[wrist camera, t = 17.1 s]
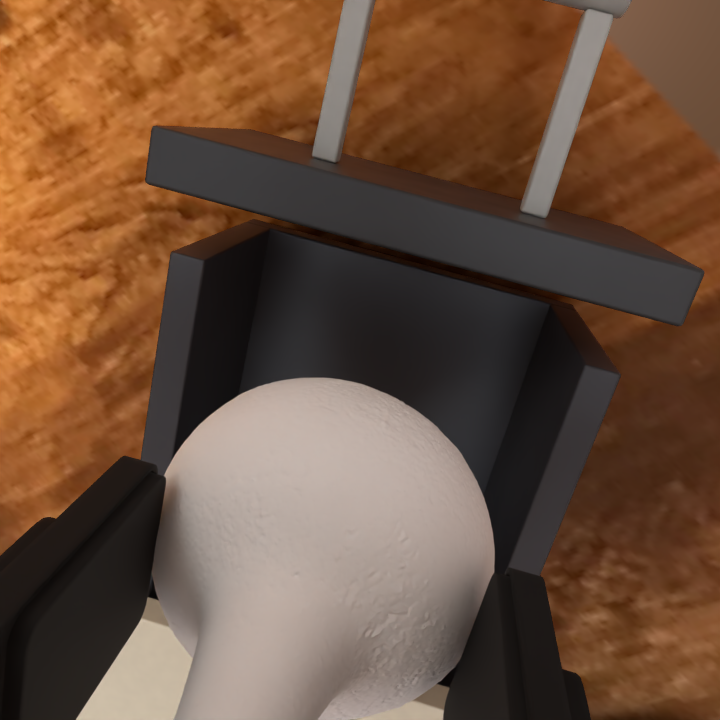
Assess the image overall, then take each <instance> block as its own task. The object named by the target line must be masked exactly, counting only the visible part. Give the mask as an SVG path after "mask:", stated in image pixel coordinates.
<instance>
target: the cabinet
mask: <svg viewBox="0 0 720 720" xmlns="http://www.w3.org/2000/svg"><path fill="white" fill-rule="evenodd" d="M192 660H193V658H192V657H191V656H190V655H189V653H188V652H187V651H186V650H185V648H184V647H183V645H181V643H180V642H179V641H178V639H177V638H176V637H175V635H174V633H173V631H172V630H171V628H170V627H169V624H168V621H167V619H166V617H165V615H164V612H163V610H162V608H161V605H160V602H159V600H156V599H153V598H149V597H148V598H147V603H146V607H145V610H144V613H143V615H142V618H141V620H140V622H139V624H138V625H137V627H136V629H135V630H134V632H133V633H132V635H131V636H130V638H129V639H128V641H127V642H126V644H125V645H124V647H123V648H122V650H121V651H120V653H119V654H118V656H117V658H116V659H115V661H114V662H113V664H112V665H111V667H110V668H109V670H108V671H107V673H106V674H105V676H104V677H103V679H102V680H101V682H100V683H99V685H98V687H97V688H96V690H95V691H94V693H93V694H92V696H91V697H90V699H89V700H88V702H87V703H86V705H85V706H84V708H83V709H82V711H81V712H80V714H79V716H78V717H77V719H76V720H174V718H175V715H176V712H177V710H178V706H179V703H180V700H181V697H182V694H183V691H184V686H185V684H186V681H187V678H188V674H189V670H190V667H191V664H192ZM448 691H449V687H446V686H442V685H439V684H436V685H434V686H433V687H432V688H431V689H429V690H427V691H426V692H425V693H423V694H422V695H420V696H419V697H417V698H416V699H414V700H412V701H410V702H408V703H406V704H404V705H403V706H402V707H399V708H395V709H391V710H389V711H385V712H381V713H378V714H374V715H371V716H366V717H363V718H357V719H350V720H443V713H444V706H445V701H446V697H447V694H448Z"/></svg>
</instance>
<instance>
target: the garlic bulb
mask: <svg viewBox="0 0 720 720" xmlns="http://www.w3.org/2000/svg"><path fill="white" fill-rule="evenodd" d="M164 476H165V477H166V487H165V493H164V500H163V506H162V512H161V518H160V524H159V529H158V534H157V539H156V546H155V552H154V561H153V567H152V577H153V582H154V585H155V590H156V593H157V596H158V599H159V602H160V605H161V608H162V610H163V612H164V615H165V617H166V619H167V621H168V624H169V627H170V628H171V630H172V631H173V633H174V635H175V637H176V638H177V639H178V641H179V642H180V643H181V645H183V647H184V648H185V650H186V651H187V652H188V653H189V655H190V656H191V657H192V658H193V660H192V664H191V667H190V670H189V674H188V678H187V681H186V684H185V686H184V691H183V694H182V697H181V700H180V703H179V706H178V710H177V712H176V715H175V718H174V720H350V719H357V718H363V717H366V716H371V715H374V714H378V713H381V712H385V711H389V710H391V709H395V708H399V707H402V706H403V705H404V704H406V703H408V702H410V701H412V700H414V699H416V698H417V697H419V696H420V695H422V694H423V693H425V692H426V691H427V690H429V689H431V688H432V687H433V686H434V685H436V684H437V683H438V682H439V681H441V680H442V679H443V678H444V677H445V676H446V675H447V674H448V673H449V672H450V671H451V670H452V669H453V668H455V666H456V664H457V663H458V661H459V660H460V659H461V656H462V654H463V651H464V648H465V646H466V643H467V640H468V638H469V635H470V632H471V630H472V627H473V624H474V622H475V619H476V616H477V614H478V611H479V608H480V606H481V603H482V600H483V598H484V595H485V592H486V590H487V587H488V584H489V582H490V579H491V577H492V575H493V573H494V561H495V549H494V548H495V547H494V539H493V531H492V526H491V521H490V517H489V513H488V509H487V506H486V503H485V500H484V497H483V494H482V492H481V489H480V487H479V485H478V482H477V480H476V479H475V477H474V475H473V473H472V471H471V470H470V468H469V466H468V464H467V463H466V461H465V459H464V458H463V456H462V454H461V453H460V451H459V450H458V448H457V447H456V446H455V445H453V443H452V442H451V441H450V440H449V439H448V438H447V437H446V436H445V435H444V434H443V433H442V432H441V431H440V430H439V429H438V427H437V426H435V425H434V424H433V422H431V421H429V420H428V419H427V418H425V417H424V416H423V415H422V414H421V413H419V412H417V411H416V410H415V409H413V408H411V407H410V406H409V405H406V404H404V402H403V401H402V402H401V401H399V400H398V399H397V398H394V397H392V396H390V395H389V394H386V393H383V392H381V391H379V390H376V389H374V388H371V387H369V386H366V385H363V384H360V383H356V382H351V381H345V380H341V379H333V378H296V379H287V380H282V381H277V382H272V383H270V384H265V385H262V386H258V387H256V388H254V389H251V390H249V391H246V392H244V393H242V394H240V395H238V396H237V397H236V398H234V399H232V400H231V401H229V402H227V403H225V404H224V405H223V406H222V407H220V408H219V409H217V410H216V411H215V412H214V413H212V414H211V415H210V416H209V417H207V418H206V419H205V420H204V421H203V422H202V423H201V424H200V425H199V426H198V427H197V428H196V429H195V430H194V431H193V432H192V434H191V435H190V436H189V437H188V438H187V439H186V440H185V442H184V443H183V444H182V445H181V447H180V449H179V450H178V451H177V453H176V455H175V456H174V458H173V459H172V461H171V463H170V465H169V467H168V468H167V470H166V472H165V475H164Z"/></svg>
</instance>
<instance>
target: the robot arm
mask: <svg viewBox="0 0 720 720" xmlns="http://www.w3.org/2000/svg"><path fill="white" fill-rule="evenodd" d="M165 487H166V477H165V476H162V475H159V474H158V467H157V465H156V464H152V463H149V462H145V461H142V460H138V459H135V458H131V457H128V456H123V457H121V458H120V459H119V460H118V461H117V462H116V463H115V464H113V465H112V466H111V467H110V468H109V469H108V470H107V471H106V472H105V473H104V474H103V475H102V476H101V477H100V478H99V479H98V480H97V481H96V482H95V483H93V484H92V485H91V486H90V487H89V488H88V489H87V490H86V491H85V492H84V493H83V494H82V495H81V496H80V497H79V498H78V499H77V500H76V501H75V502H73V503H72V504H71V505H70V506H69V507H68V508H67V509H66V510H65V511H64V512H63V513H62V514H61V515H60V516H59V517H58V518H57V519H55V518H51V517H46V518H43V519H41V520H40V521H38V522H37V523H36V524H35V525H34V526H32V527H31V528H30V529H29V530H28V531H27V532H26V533H25V534H24V535H23V536H22V537H20V538H19V539H18V540H17V541H16V542H15V543H14V544H13V545H12V546H11V547H9V548H8V549H7V550H6V551H5V552H4V553H3V554H2V555H1V556H0V720H76V719H77V717H78V716H79V714H80V712H81V711H82V709H83V708H84V706H85V705H86V703H87V702H88V700H89V699H90V697H91V696H92V694H93V693H94V691H95V690H96V688H97V687H98V685H99V683H100V682H101V680H102V679H103V677H104V676H105V674H106V673H107V671H108V670H109V668H110V667H111V665H112V664H113V662H114V661H115V659H116V658H117V656H118V654H119V653H120V651H121V650H122V648H123V647H124V645H125V644H126V642H127V641H128V639H129V638H130V636H131V635H132V633H133V632H134V630H135V629H136V627H137V625H138V624H139V622H140V620H141V618H142V615H143V613H144V610H145V607H146V603H147V598H148V591H149V585H150V579H151V573H152V567H153V561H154V552H155V546H156V539H157V534H158V529H159V524H160V518H161V512H162V506H163V500H164V493H165ZM443 720H591V717H590V713H589V708H588V704H587V700H586V695H585V691H584V687H583V684H582V681H581V678H580V677H579V676H578V675H577V674H576V673H573V672H570V671H567V670H563V669H562V667H561V662H560V657H559V652H558V647H557V642H556V637H555V632H554V627H553V622H552V617H551V612H550V607H549V602H548V597H547V592H546V587H545V582H544V579H543V577H541V576H538V575H535V574H531V573H528V572H524V571H521V570H517V569H514V568H511V567H509V568H507V570H506V571H505V573H504V575H503V574H499V573H496V572H495V573H493V575H492V577H491V579H490V582H489V584H488V587H487V590H486V592H485V595H484V598H483V600H482V603H481V606H480V608H479V611H478V614H477V616H476V619H475V622H474V624H473V627H472V630H471V632H470V635H469V638H468V640H467V643H466V646H465V648H464V651H463V654H462V656H461V659H460V662H459V664H458V667H457V670H456V672H455V675H454V678H453V680H452V683H451V686H450V688H449V691H448V694H447V697H446V701H445V706H444V713H443Z"/></svg>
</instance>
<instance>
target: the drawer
mask: <svg viewBox="0 0 720 720" xmlns="http://www.w3.org/2000/svg"><path fill="white" fill-rule="evenodd" d="M544 1H548V2H552V3H556V4H560V5H564V6H568V7H572V8H576V9H580V10H584V11H585V12H584V13H583V14H582V15H581V18H580V21H579V24H578V27H577V30H576V33H575V37H574V40H573V43H572V46H571V49H570V52H569V55H568V58H567V62H566V65H565V68H564V71H563V74H562V77H561V80H560V83H559V87H558V90H557V93H556V96H555V99H554V102H553V105H552V109H551V112H550V115H549V118H548V121H547V124H546V127H545V130H544V134H543V137H542V140H541V143H540V146H539V149H538V152H537V156H536V159H535V162H534V165H533V168H532V171H531V174H530V177H529V181H528V184H527V187H526V190H525V193H524V196H523V199H522V200H518V199H515V198H511V197H507V196H503V195H499V194H495V193H492V192H488V191H484V190H480V189H476V188H472V187H469V186H465V185H461V184H457V183H453V182H450V181H446V180H442V179H438V178H434V177H430V176H427V175H423V174H419V173H415V172H411V171H407V170H404V169H400V168H396V167H392V166H388V165H385V164H381V163H377V162H373V161H369V160H365V159H362V158H358V157H354V156H350V155H346V154H343V153H342V149H343V144H344V140H345V135H346V131H347V126H348V122H349V117H350V113H351V108H352V104H353V99H354V95H355V90H356V86H357V81H358V77H359V72H360V68H361V63H362V59H363V54H364V50H365V45H366V41H367V36H368V32H369V27H370V23H371V18H372V14H373V9H374V5H375V0H344V3H343V7H342V12H341V17H340V22H339V27H338V31H337V36H336V41H335V46H334V51H333V55H332V60H331V65H330V70H329V75H328V79H327V84H326V89H325V94H324V99H323V103H322V108H321V113H320V118H319V123H318V128H317V132H316V137H315V142H314V146H312V145H308V144H304V143H300V142H297V141H293V140H289V139H285V138H281V137H278V136H274V135H270V134H266V133H262V132H258V131H255V130H251V129H228V128H204V127H179V126H153V127H152V131H151V138H150V146H149V154H148V162H147V170H146V178H145V181H146V183H147V184H149V185H152V186H156V187H160V188H163V189H167V190H171V191H175V192H178V193H182V194H186V195H190V196H193V197H197V198H201V199H205V200H208V201H212V202H216V203H219V204H223V205H227V206H231V207H234V208H238V209H242V210H246V211H249V212H253V213H257V214H260V215H264V216H268V217H272V218H275V219H279V220H283V221H287V222H290V223H294V224H298V225H302V226H305V227H309V228H313V229H316V230H320V231H324V232H328V233H331V234H335V235H339V236H343V237H346V238H350V239H354V240H357V241H361V242H365V243H369V244H372V245H376V246H380V247H384V248H387V249H391V250H395V251H399V252H402V253H406V254H410V255H413V256H417V257H421V258H425V259H428V260H432V261H436V262H440V263H443V264H447V265H451V266H454V267H458V268H462V269H466V270H469V271H473V272H477V273H481V274H484V275H488V276H492V277H496V278H499V279H503V280H507V281H510V282H514V283H518V284H522V285H525V286H529V287H533V288H537V289H540V290H544V291H548V292H551V293H555V294H559V295H563V296H566V297H570V298H574V299H578V300H581V301H585V302H589V303H593V304H596V305H600V306H604V307H607V308H611V309H615V310H619V311H622V312H626V313H630V314H634V315H637V316H641V317H645V318H648V319H652V320H656V321H660V322H663V323H667V324H671V325H675V326H682V324H683V323H684V320H685V318H686V316H687V313H688V311H689V309H690V306H691V304H692V302H693V299H694V297H695V295H696V292H697V290H698V288H699V285H700V283H701V281H702V278H703V276H704V271H703V270H702V269H700V268H699V267H697V266H695V265H693V264H691V263H689V262H687V261H686V260H684V259H682V258H680V257H678V256H676V255H674V254H672V253H671V252H669V251H667V250H665V249H663V248H661V247H659V246H657V245H656V244H654V243H652V242H650V241H648V240H646V239H644V238H643V237H641V236H639V235H637V234H635V233H633V232H631V231H629V230H628V229H626V228H624V227H622V226H618V225H614V224H610V223H606V222H602V221H599V220H595V219H591V218H587V217H583V216H579V215H576V214H572V213H568V212H564V211H560V210H557V209H553V208H550V207H551V204H552V201H553V198H554V195H555V192H556V189H557V186H558V183H559V180H560V177H561V174H562V171H563V168H564V165H565V162H566V159H567V156H568V153H569V150H570V147H571V144H572V141H573V138H574V135H575V132H576V129H577V126H578V123H579V120H580V117H581V114H582V111H583V108H584V105H585V102H586V99H587V96H588V93H589V90H590V87H591V84H592V81H593V78H594V75H595V72H596V69H597V66H598V63H599V60H600V57H601V54H602V51H603V48H604V45H605V42H606V39H607V36H608V33H609V30H610V27H611V24H612V21H613V18H621V17H622V16H623V14H624V13H625V12H626V10H627V9H628V7H629V5H630V3H631V1H632V0H544ZM620 376H621V374H620V373H619V371H618V370H617V368H616V367H615V366H614V364H613V363H612V361H611V360H610V358H609V357H608V355H607V354H606V353H605V351H604V350H603V348H602V347H601V345H600V344H599V343H598V341H597V340H596V338H595V337H594V335H593V334H592V332H591V331H590V330H589V328H588V327H587V325H586V324H585V322H584V321H583V320H582V318H581V317H580V315H579V314H578V312H577V311H576V310H575V308H574V307H573V305H571V304H568V303H564V302H561V301H557V300H553V299H549V298H546V297H542V296H538V295H534V294H531V293H527V292H523V291H520V290H516V289H512V288H508V287H505V286H501V285H497V284H494V283H490V282H486V281H482V280H479V279H475V278H471V277H467V276H464V275H460V274H456V273H453V272H449V271H445V270H441V269H438V268H434V267H430V266H426V265H423V264H419V263H415V262H412V261H408V260H404V259H400V258H397V257H393V256H389V255H386V254H382V253H378V252H374V251H371V250H367V249H363V248H359V247H356V246H352V245H348V244H345V243H341V242H337V241H333V240H330V239H326V238H322V237H318V236H315V235H311V234H307V233H304V232H300V231H296V230H292V229H289V228H285V227H281V226H278V225H274V224H270V223H266V222H263V221H259V220H255V219H253V220H250V221H248V222H245V223H242V224H240V225H237V226H235V227H232V228H230V229H227V230H225V231H222V232H220V233H217V234H215V235H212V236H210V237H207V238H205V239H202V240H200V241H197V242H195V243H192V244H190V245H187V246H185V247H182V248H180V249H177V250H175V251H172V252H171V255H170V261H169V268H168V275H167V282H166V289H165V296H164V303H163V310H162V316H161V323H160V330H159V337H158V344H157V351H156V358H155V365H154V371H153V378H152V385H151V392H150V399H149V406H148V413H147V420H146V426H145V433H144V440H143V447H142V454H141V460H142V461H145V462H149V463H152V464H156V465H157V467H158V474H159V475H162V476H164V475H165V472H166V470H167V468H168V467H169V465H170V463H171V461H172V459H173V458H174V456H175V455H176V453H177V451H178V450H179V449H180V447H181V445H182V444H183V443H184V442H185V440H186V439H187V438H188V437H189V436H190V435H191V434H192V432H193V431H194V430H195V429H196V428H197V427H198V426H199V425H200V424H201V423H202V422H203V421H204V420H205V419H206V418H207V417H209V416H210V415H211V414H212V413H214V412H215V411H216V410H217V409H219V408H220V407H222V406H223V405H224V404H225V403H227V402H229V401H231V400H232V399H234V398H236V397H237V396H238V395H240V394H242V393H244V392H246V391H249V390H251V389H254V388H256V387H258V386H262V385H265V384H270V383H272V382H277V381H282V380H287V379H296V378H333V379H341V380H345V381H351V382H356V383H360V384H363V385H366V386H369V387H371V388H374V389H376V390H379V391H381V392H383V393H386V394H389V395H390V396H392V397H394V398H397V399H398V400H399V401H401V402H402V401H403V402H404V404H406V405H409V406H410V407H411V408H413V409H415V410H416V411H417V412H419V413H421V414H422V415H423V416H424V417H425V418H427V419H428V420H429V421H431V422H433V424H434V425H435V426H437V427H438V429H439V430H440V431H441V432H442V433H443V434H444V435H445V436H446V437H447V438H448V439H449V440H450V441H451V442H452V443H453V445H455V446H456V447H457V448H458V450H459V451H460V453H461V454H462V456H463V458H464V459H465V461H466V463H467V464H468V466H469V468H470V470H471V471H472V473H473V475H474V477H475V479H476V480H477V482H478V485H479V487H480V489H481V492H482V494H483V497H484V500H485V503H486V506H487V509H488V513H489V517H490V521H491V526H492V531H493V539H494V547H495V548H494V549H495V561H494V573H495V572H496V573H499V574H503V575H504V573H505V571H506V570H507V568H509V567H511V568H514V569H517V570H521V571H524V572H528V573H531V574H535V575H538V576H540V574H541V571H542V569H543V567H544V564H545V562H546V559H547V557H548V554H549V552H550V549H551V547H552V544H553V542H554V539H555V537H556V534H557V532H558V530H559V527H560V525H561V522H562V520H563V517H564V515H565V512H566V510H567V507H568V505H569V502H570V500H571V497H572V495H573V492H574V490H575V488H576V485H577V483H578V480H579V478H580V475H581V473H582V470H583V468H584V465H585V463H586V460H587V458H588V455H589V453H590V451H591V448H592V446H593V443H594V441H595V438H596V436H597V433H598V431H599V428H600V426H601V423H602V421H603V418H604V416H605V414H606V411H607V409H608V406H609V404H610V401H611V399H612V396H613V394H614V391H615V389H616V386H617V384H618V381H619V379H620ZM148 597H149V598H153V599H156V600H159V599H158V596H157V593H156V590H155V585H154V582H153V577H152V573H151V579H150V585H149V591H148ZM459 662H460V660H459V661H458V663H457V664H456V666H455V668H453V669H452V670H451V671H450V672H449V673H448V674H447V675H446V676H445V677H444V678H443V679H442V680H441V681H439V682H438V683H437V684H439V685H442V686H446V687H449V688H450V686H451V683H452V680H453V678H454V675H455V672H456V670H457V667H458V664H459Z"/></svg>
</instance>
